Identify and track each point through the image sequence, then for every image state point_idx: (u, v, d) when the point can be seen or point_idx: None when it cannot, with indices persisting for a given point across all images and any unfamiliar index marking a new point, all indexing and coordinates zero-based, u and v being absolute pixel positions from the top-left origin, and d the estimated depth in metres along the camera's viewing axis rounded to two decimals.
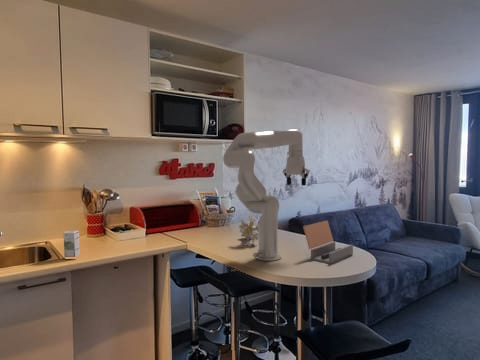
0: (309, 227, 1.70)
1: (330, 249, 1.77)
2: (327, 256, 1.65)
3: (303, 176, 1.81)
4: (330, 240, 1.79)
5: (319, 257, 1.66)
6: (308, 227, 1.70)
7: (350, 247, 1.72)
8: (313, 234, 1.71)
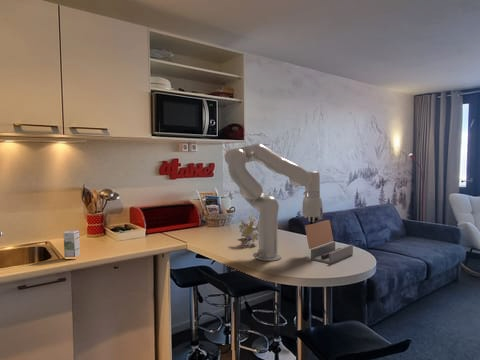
0: (311, 226, 1.70)
1: (330, 249, 1.77)
2: (327, 256, 1.65)
3: (314, 221, 1.76)
4: (330, 240, 1.79)
5: (319, 257, 1.66)
6: (310, 226, 1.69)
7: (350, 247, 1.72)
8: (314, 234, 1.70)
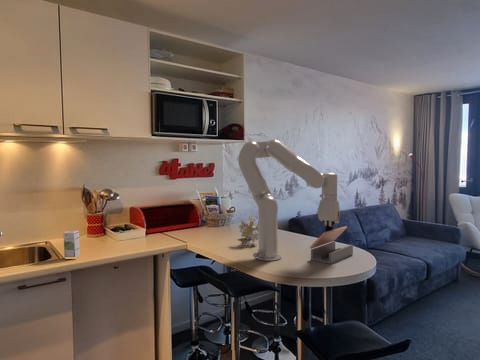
0: (327, 234, 1.63)
1: (330, 249, 1.77)
2: (327, 256, 1.65)
3: (330, 225, 1.68)
4: (331, 241, 1.79)
5: (319, 257, 1.66)
6: (326, 234, 1.62)
7: (350, 247, 1.72)
8: (324, 239, 1.66)
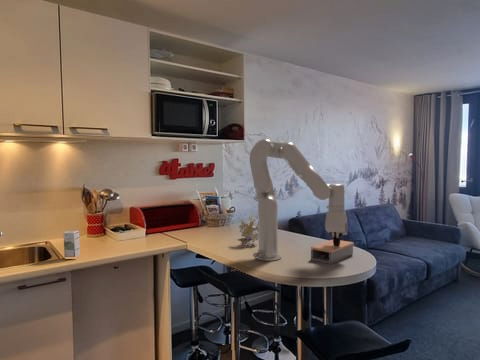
0: None
1: None
2: (327, 256, 1.65)
3: (338, 236, 1.66)
4: None
5: (319, 257, 1.66)
6: None
7: (350, 247, 1.72)
8: None
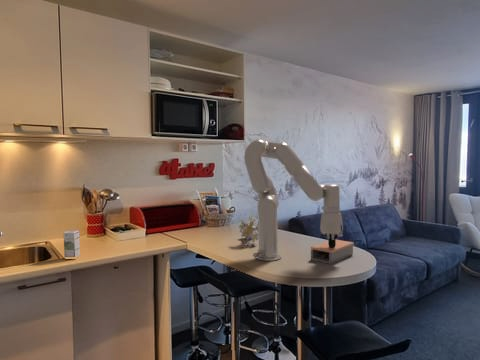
0: None
1: None
2: (327, 256, 1.65)
3: (333, 238, 1.62)
4: None
5: (319, 257, 1.66)
6: None
7: (350, 247, 1.72)
8: None
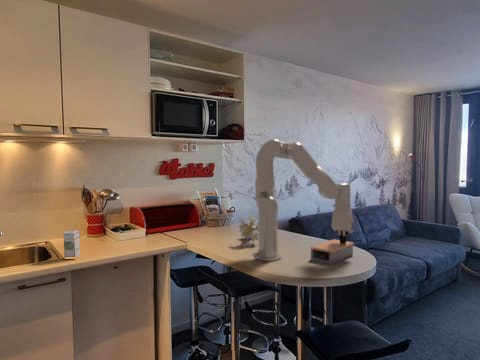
0: None
1: None
2: (327, 256, 1.65)
3: (344, 235, 1.70)
4: None
5: (319, 257, 1.66)
6: None
7: (350, 247, 1.72)
8: None
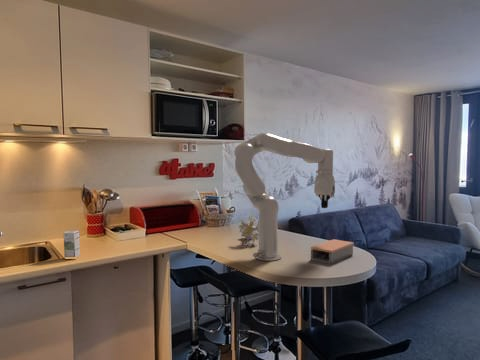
0: None
1: None
2: (327, 256, 1.65)
3: (325, 199, 1.74)
4: None
5: (319, 257, 1.66)
6: None
7: (350, 247, 1.72)
8: None
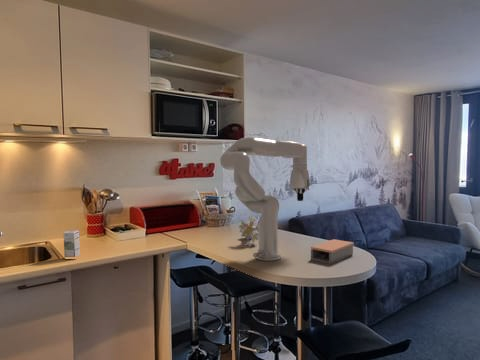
0: None
1: None
2: (327, 256, 1.65)
3: (301, 192, 1.83)
4: None
5: (319, 257, 1.66)
6: None
7: (350, 247, 1.72)
8: None
